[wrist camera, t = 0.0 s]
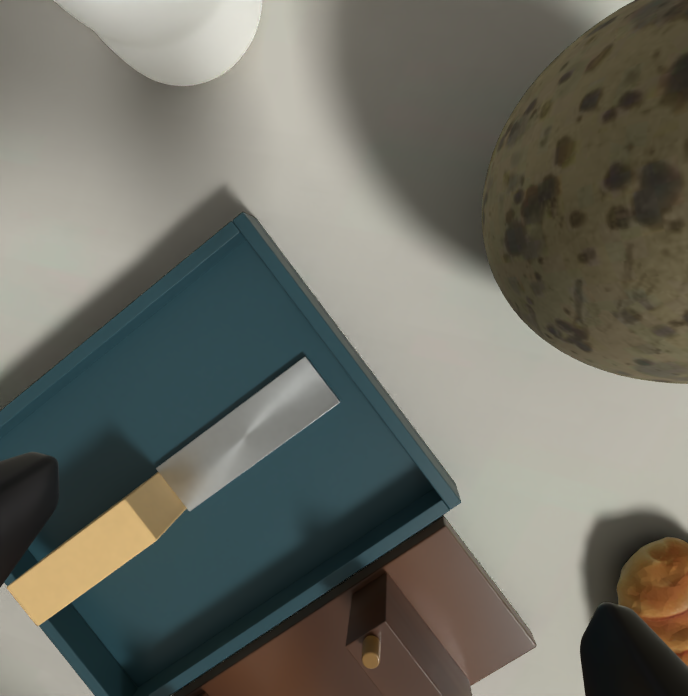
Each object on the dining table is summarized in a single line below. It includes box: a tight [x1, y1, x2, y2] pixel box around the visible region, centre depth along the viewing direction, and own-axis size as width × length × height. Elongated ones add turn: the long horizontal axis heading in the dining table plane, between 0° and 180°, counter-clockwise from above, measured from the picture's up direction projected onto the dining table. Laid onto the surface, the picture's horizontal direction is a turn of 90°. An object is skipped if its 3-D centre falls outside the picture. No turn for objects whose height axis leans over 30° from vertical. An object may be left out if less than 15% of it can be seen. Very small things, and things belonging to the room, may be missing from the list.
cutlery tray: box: [0, 212, 461, 696], centre depth 24 cm, size 20×15×2 cm
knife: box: [7, 356, 341, 626], centre depth 23 cm, size 16×3×3 cm, turn 127°
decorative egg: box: [482, 0, 688, 384], centre depth 15 cm, size 11×11×15 cm
